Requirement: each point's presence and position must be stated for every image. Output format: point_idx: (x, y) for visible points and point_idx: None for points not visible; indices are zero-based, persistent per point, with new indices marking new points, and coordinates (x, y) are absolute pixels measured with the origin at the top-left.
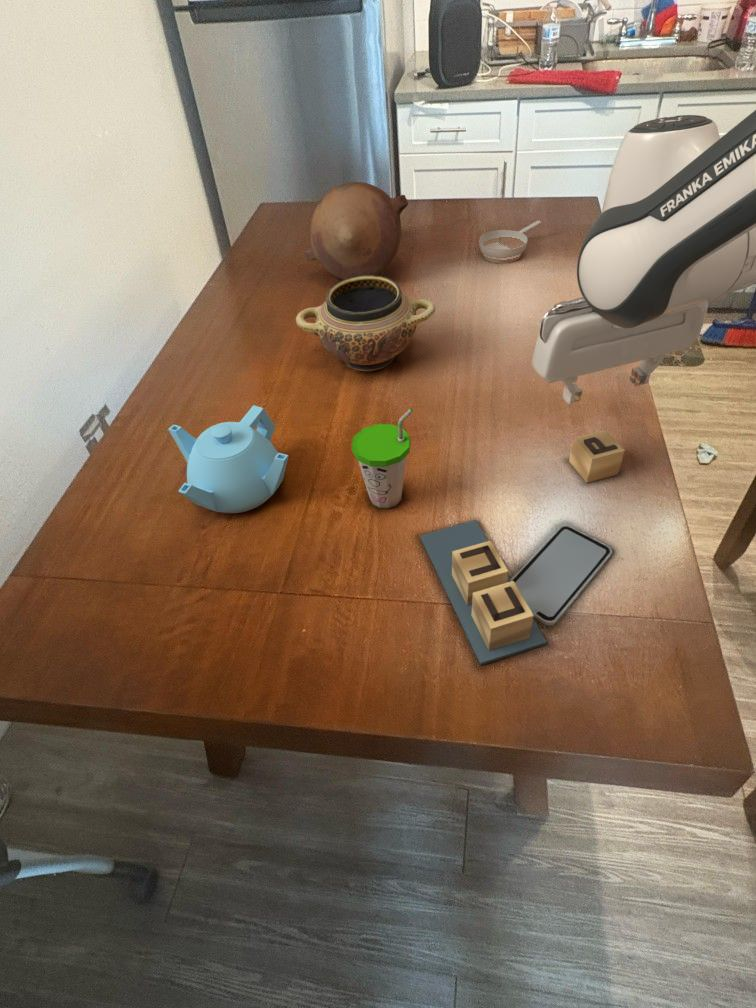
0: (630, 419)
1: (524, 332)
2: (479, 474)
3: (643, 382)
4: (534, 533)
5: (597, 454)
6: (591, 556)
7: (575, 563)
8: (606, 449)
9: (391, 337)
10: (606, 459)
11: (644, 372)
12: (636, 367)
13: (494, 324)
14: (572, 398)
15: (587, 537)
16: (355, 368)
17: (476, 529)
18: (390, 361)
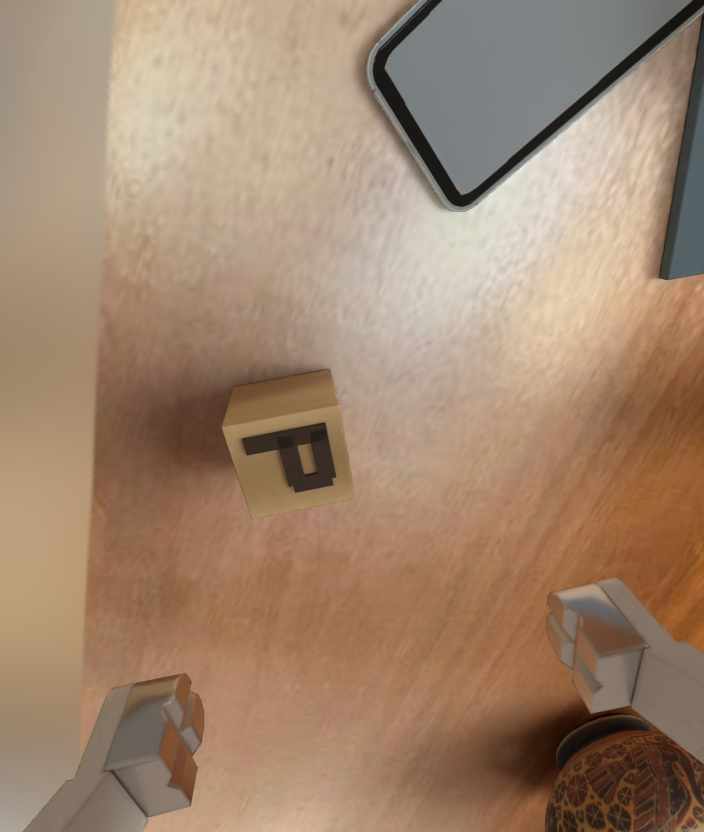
0: (140, 565)
1: (295, 792)
2: (566, 437)
3: (138, 699)
4: (542, 204)
5: (314, 423)
6: (441, 47)
7: (501, 26)
8: (280, 437)
9: (659, 811)
10: (284, 407)
11: (119, 782)
12: (160, 813)
13: (345, 808)
14: (632, 607)
15: (416, 143)
16: (642, 721)
17: (687, 242)
18: (577, 734)
